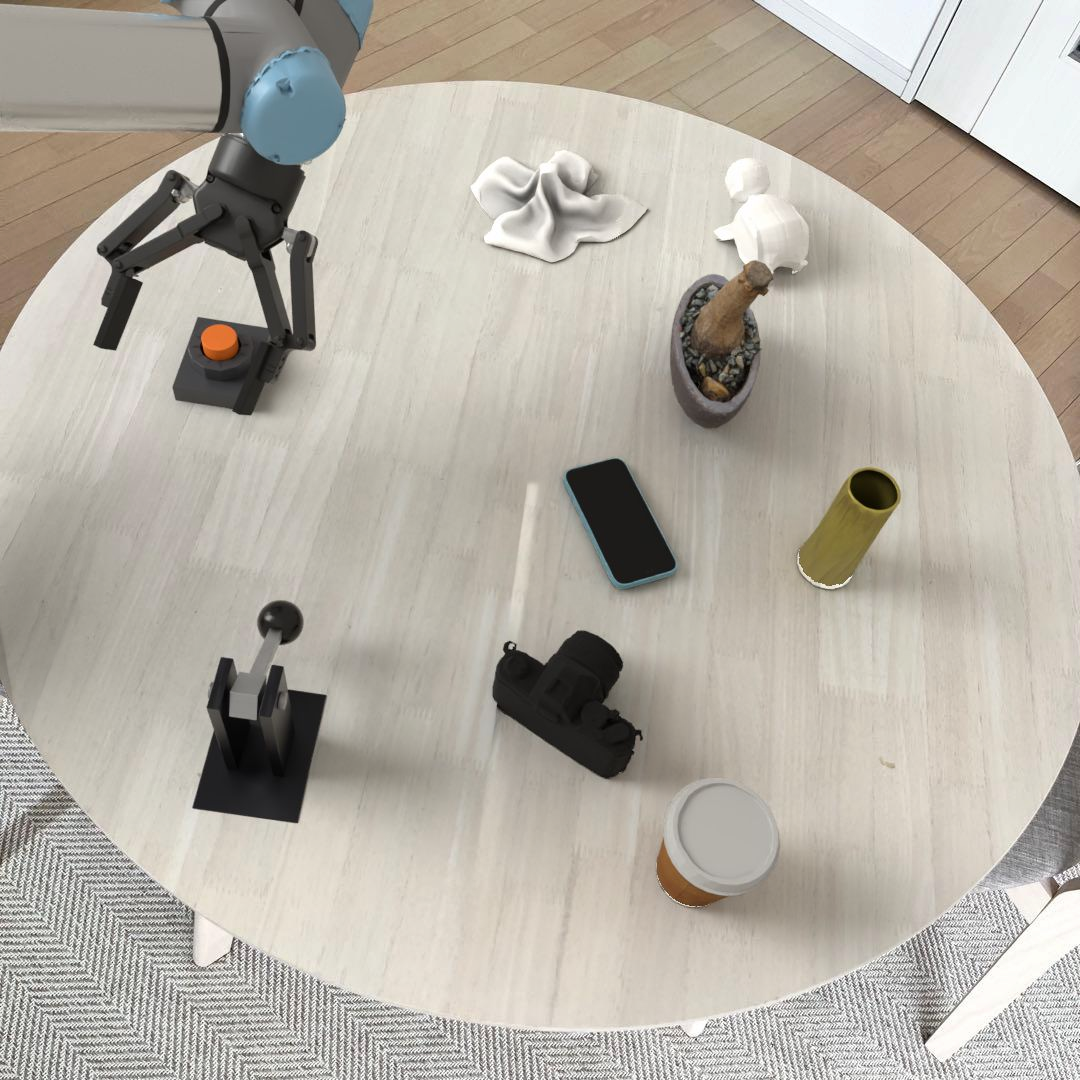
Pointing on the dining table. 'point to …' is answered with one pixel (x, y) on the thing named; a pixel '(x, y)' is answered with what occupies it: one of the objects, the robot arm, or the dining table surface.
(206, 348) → the button
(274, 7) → the robot arm
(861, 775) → the dining table surface
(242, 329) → the control block
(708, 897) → the disposable coffee cup
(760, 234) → the white figurine
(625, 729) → the film camera
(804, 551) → the vase
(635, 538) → the smartphone
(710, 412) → the planter
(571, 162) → the cloth
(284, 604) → the lever
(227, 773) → the bracket
